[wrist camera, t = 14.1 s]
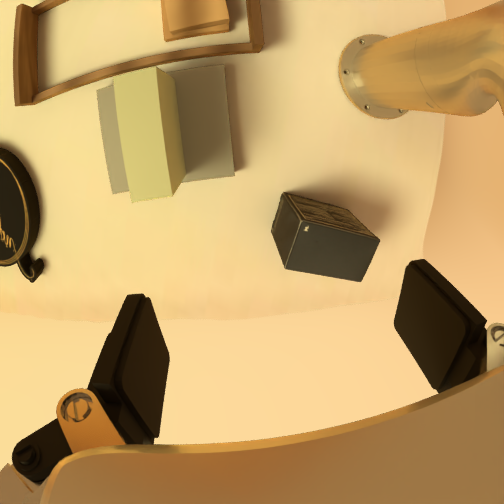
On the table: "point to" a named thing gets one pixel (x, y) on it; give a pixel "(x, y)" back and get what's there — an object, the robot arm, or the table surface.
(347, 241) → the small box
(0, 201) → the decorative sign
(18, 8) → the frame
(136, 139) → the pale green block
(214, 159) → the grey board
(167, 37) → the block
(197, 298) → the table surface
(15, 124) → the table surface
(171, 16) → the upper offcut
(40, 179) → the table surface
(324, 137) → the table surface
